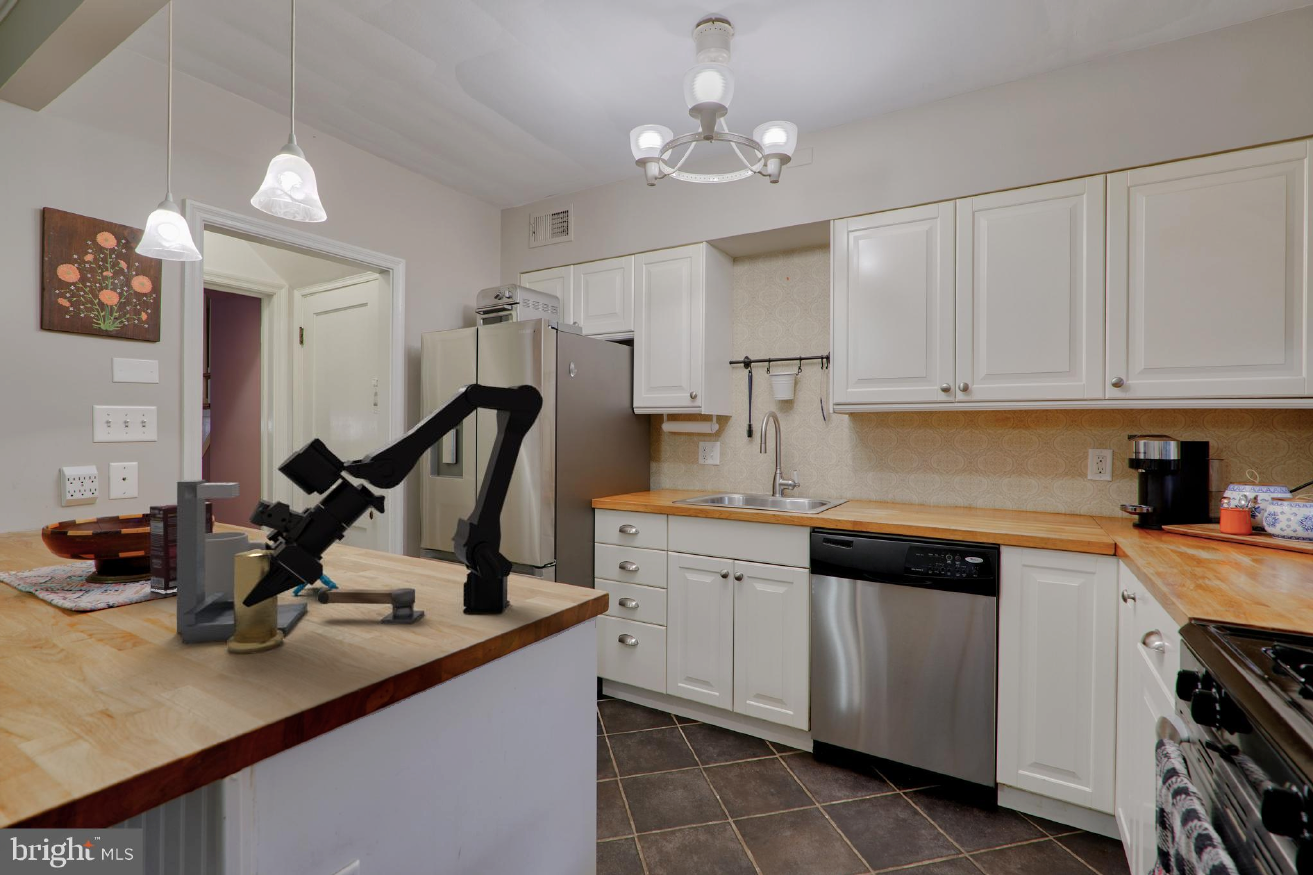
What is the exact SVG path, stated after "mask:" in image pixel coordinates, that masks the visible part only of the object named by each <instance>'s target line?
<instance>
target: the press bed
mask: <svg viewBox="0 0 1313 875" xmlns="http://www.w3.org/2000/svg"><path fill="white" fill-rule="evenodd" d="M239 496H240V482H207V481H206V479H185V480H180V481H177V482H176V504H177V592H176V634H180V633H181V635H182V636H181V638H182V641H181V642H182V643H183V644H198V643H212V642H225V641H226V642H228V639H230V638H231V637H233V636H234V599H229V600H228V591H217V592H215V593H214V594H212V595H211V596H209V597H208V598H206V599H205V508H206V502H207V501H206V499H233V498H235V497H239ZM307 610H308V602H301V603H300V602H298V603H297V602H296V603H284V604H282V603H281V604H280V603H279V604H278V625H277V630H279V631H282V632H283V636H286V635H287V634H288V633H289V632H290V631H291V630H292V629H293V627H294V626H295V625H296V624H297V622H299V620H300V619H301V618H302V617H303V616H304V614H305V613H307Z"/></svg>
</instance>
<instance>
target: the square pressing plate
mask: <svg viewBox="0 0 1313 875" xmlns="http://www.w3.org/2000/svg"><path fill="white" fill-rule="evenodd" d="M391 606H392V605H391ZM414 607H415V603H414V604H412V605H409V606H401V607H398V606H392V608H391V609H392V610H391V612H390V613H388V614H386V615H385V616H383V618H381V619H380V624H398V625H399V624H400V625H401V624H403V625H404V624H406V625H411V624H414V623H415V622H417V621H418V620H419V619H420V618H422V617H423V616H424V615H425V610H414Z"/></svg>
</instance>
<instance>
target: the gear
mask: <svg viewBox="0 0 1313 875" xmlns="http://www.w3.org/2000/svg"><path fill="white" fill-rule="evenodd" d="M318 581H320V583H321V584H323V585H324V586H325V587H327V588H331V589H340V588H339V586H338V585H337V584H336V583H335V582H334V581H332V580H331V578H330V576H329V577H328V576H327V574H324V573H323V575H322V576H321V577H320V578H319V579H318ZM308 585H310V584H309V583H307V582H306V584H304V585H299V586H297V587H295V588H294V589H293V591H292V592H291V594H293V595H295V596H298V594H300V593H301V592H302V591H303V590H304V589H305V588H306V587H307V586H308Z"/></svg>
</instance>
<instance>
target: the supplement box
mask: <svg viewBox="0 0 1313 875" xmlns="http://www.w3.org/2000/svg"><path fill="white" fill-rule="evenodd" d="M213 518H214V517H213V502H210V501H206V508H205V534H209V533H214V530H213V524H214V523H213V522H214V521H213ZM149 545H150V546H149V551H150V553H149V554H150V555H149V559H150V567H149V568H150V570H149V571H150V572H149V573H150V578H149V579H150V590H151V589H155V590H156V589H157V590H164V591H167V590H174V589H176V588H177V503H171V504H162V505H151V506H149Z"/></svg>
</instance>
